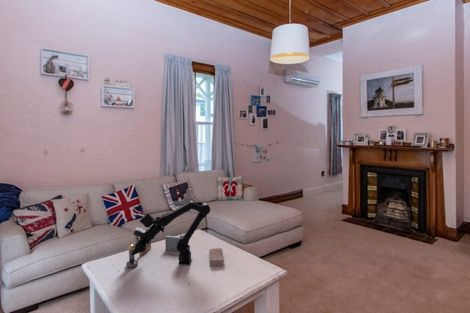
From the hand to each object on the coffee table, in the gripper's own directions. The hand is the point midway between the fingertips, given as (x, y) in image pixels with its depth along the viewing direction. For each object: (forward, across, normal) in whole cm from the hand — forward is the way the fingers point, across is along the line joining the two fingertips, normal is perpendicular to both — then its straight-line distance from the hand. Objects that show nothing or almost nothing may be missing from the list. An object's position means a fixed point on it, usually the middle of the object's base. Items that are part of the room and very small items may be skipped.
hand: (133, 251), depth 165 cm
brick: (-28, 0, +41) cm, 50 cm away
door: (+4, -18, +8) cm, 21 cm away
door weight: (+7, 0, +6) cm, 9 cm away
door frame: (-5, -22, +17) cm, 28 cm away
